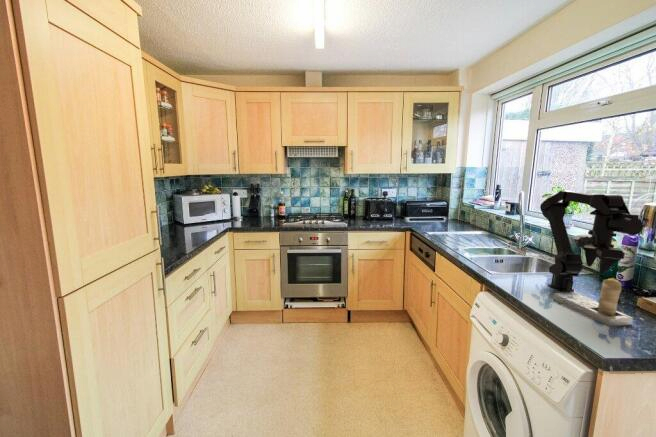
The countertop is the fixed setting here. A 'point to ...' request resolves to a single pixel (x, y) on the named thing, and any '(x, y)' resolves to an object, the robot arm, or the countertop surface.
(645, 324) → the countertop surface
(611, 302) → the peg
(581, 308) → the beige slotted board
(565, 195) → the robot arm
